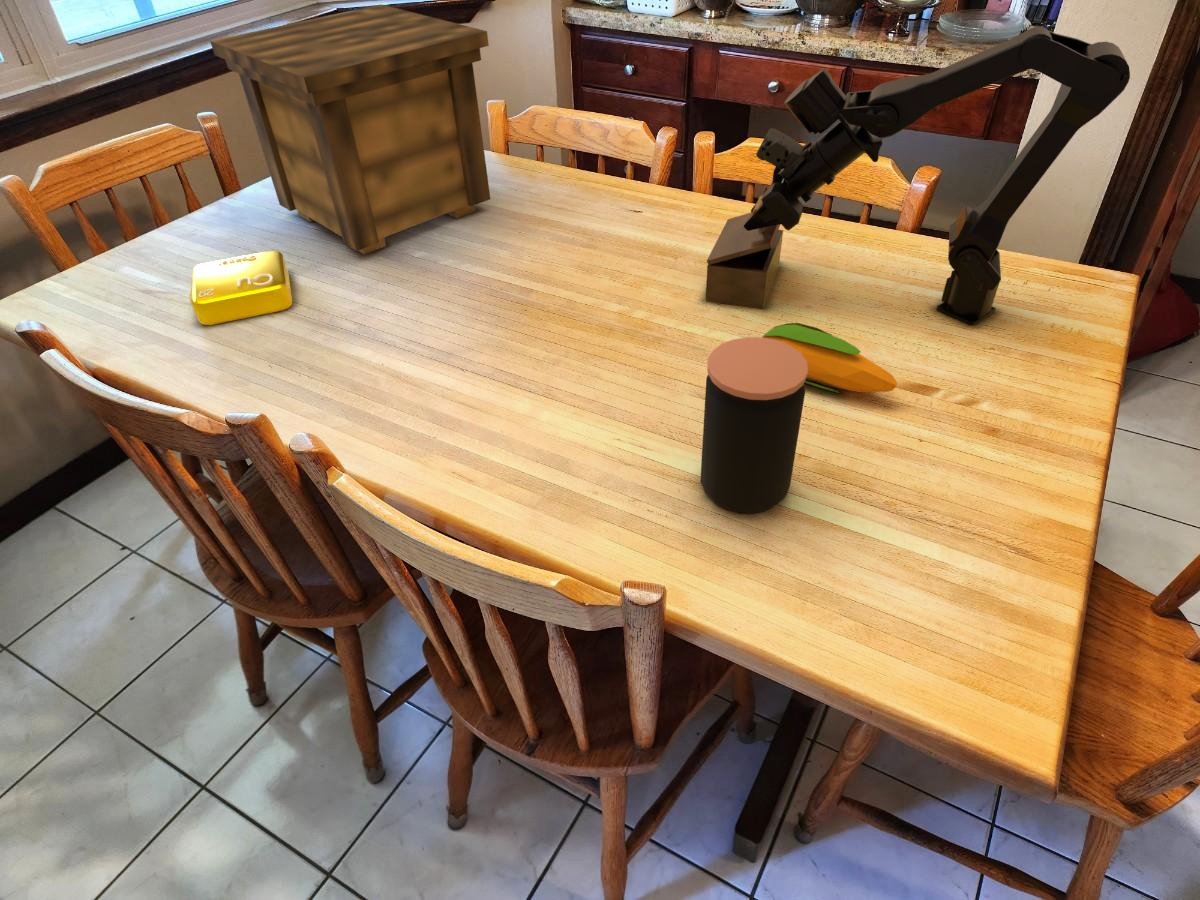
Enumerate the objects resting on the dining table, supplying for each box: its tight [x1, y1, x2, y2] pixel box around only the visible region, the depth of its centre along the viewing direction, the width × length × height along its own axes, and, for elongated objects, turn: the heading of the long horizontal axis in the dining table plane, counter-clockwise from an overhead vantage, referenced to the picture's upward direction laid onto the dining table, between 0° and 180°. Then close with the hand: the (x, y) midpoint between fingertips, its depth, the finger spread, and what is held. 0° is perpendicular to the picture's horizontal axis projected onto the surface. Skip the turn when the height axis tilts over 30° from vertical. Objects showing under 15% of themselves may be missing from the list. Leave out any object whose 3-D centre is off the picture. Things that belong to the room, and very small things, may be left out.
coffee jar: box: [699, 336, 808, 515], centre depth 90 cm, size 11×11×18 cm
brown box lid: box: [706, 194, 782, 266], centre depth 127 cm, size 10×16×5 cm
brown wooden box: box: [705, 229, 784, 310], centre depth 132 cm, size 9×16×6 cm, turn 161°
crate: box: [209, 4, 491, 256], centre depth 150 cm, size 35×35×33 cm
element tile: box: [189, 250, 293, 326], centre depth 135 cm, size 15×15×5 cm
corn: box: [761, 322, 898, 394], centre depth 109 cm, size 7×8×20 cm
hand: (749, 220), depth 126 cm, fingers closed on brown box lid, 5 cm apart
